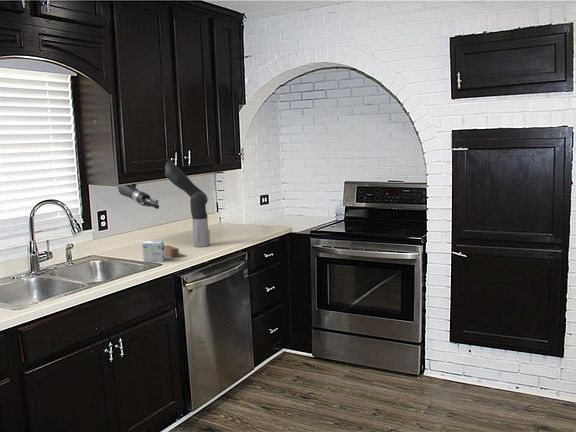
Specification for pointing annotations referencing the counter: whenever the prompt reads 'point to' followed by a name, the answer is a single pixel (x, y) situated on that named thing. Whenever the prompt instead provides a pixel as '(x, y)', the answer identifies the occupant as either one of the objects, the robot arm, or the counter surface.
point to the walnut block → (171, 251)
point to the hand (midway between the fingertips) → (158, 207)
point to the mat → (174, 257)
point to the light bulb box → (153, 251)
